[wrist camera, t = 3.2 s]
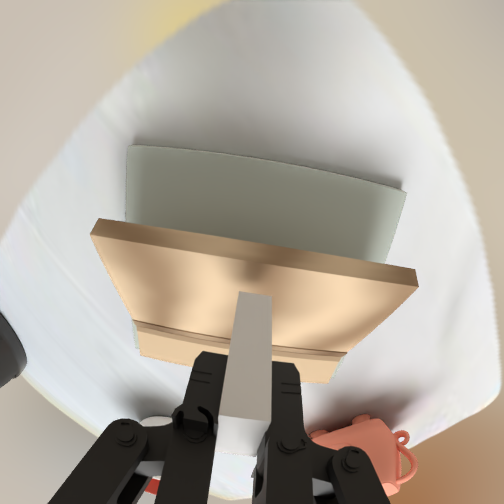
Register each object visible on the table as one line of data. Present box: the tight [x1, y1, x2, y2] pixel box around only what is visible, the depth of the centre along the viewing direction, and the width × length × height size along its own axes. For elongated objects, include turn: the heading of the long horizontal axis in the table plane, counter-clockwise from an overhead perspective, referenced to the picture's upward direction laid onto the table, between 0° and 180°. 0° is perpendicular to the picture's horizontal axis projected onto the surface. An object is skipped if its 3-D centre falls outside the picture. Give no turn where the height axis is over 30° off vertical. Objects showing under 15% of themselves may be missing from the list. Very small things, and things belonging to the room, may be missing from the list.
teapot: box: [310, 414, 418, 496], centre depth 28 cm, size 15×17×13 cm
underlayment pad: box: [126, 145, 407, 384], centre depth 22 cm, size 20×19×2 cm
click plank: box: [90, 218, 419, 357], centre depth 19 cm, size 18×12×1 cm, turn 81°
